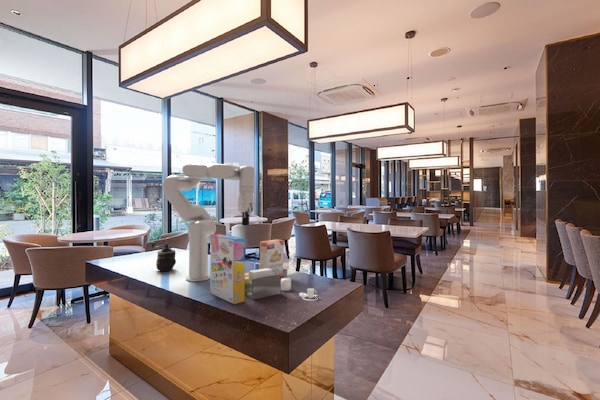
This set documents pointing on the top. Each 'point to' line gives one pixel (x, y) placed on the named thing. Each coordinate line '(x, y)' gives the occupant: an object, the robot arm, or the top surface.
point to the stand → (262, 286)
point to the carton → (258, 275)
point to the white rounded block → (285, 284)
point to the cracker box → (272, 256)
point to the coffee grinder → (165, 258)
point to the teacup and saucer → (308, 294)
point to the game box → (227, 268)
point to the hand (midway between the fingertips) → (245, 225)
